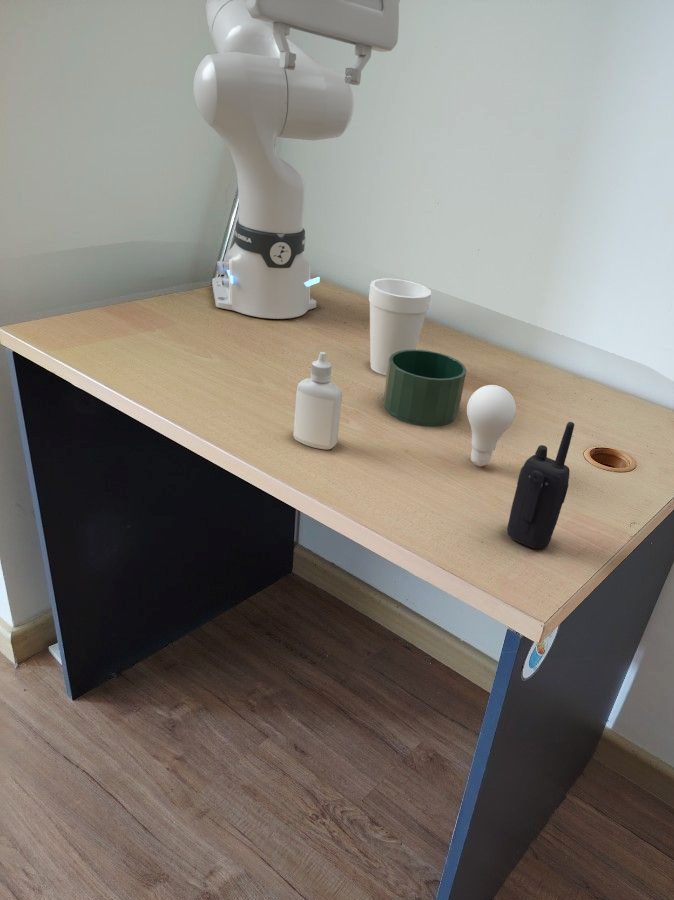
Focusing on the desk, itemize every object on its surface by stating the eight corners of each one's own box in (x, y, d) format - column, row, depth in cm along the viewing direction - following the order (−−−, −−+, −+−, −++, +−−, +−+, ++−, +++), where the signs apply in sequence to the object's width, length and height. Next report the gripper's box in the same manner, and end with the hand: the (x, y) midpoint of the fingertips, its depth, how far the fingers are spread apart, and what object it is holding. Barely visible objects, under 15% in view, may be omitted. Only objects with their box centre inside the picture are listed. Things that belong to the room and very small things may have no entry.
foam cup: (382, 383, 117) (393, 299, 110) (349, 361, 123) (358, 279, 116) (430, 376, 122) (443, 295, 115) (396, 355, 128) (408, 277, 121)
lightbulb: (463, 449, 102) (479, 372, 96) (506, 463, 101) (526, 385, 95) (449, 468, 97) (465, 388, 91) (494, 482, 96) (514, 402, 90)
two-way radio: (554, 544, 86) (591, 424, 77) (538, 560, 82) (574, 437, 74) (512, 524, 88) (543, 405, 80) (494, 539, 85) (524, 417, 76)
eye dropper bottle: (313, 454, 95) (321, 363, 88) (288, 436, 98) (294, 346, 92) (341, 448, 98) (351, 359, 91) (316, 429, 101) (324, 342, 94)
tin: (371, 395, 113) (376, 350, 109) (435, 391, 117) (443, 348, 114) (403, 429, 105) (410, 381, 101) (471, 423, 110) (480, 377, 106)
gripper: (390, -26, 101) (377, 92, 107) (244, -74, 91) (238, 60, 97) (415, -32, 97) (399, 92, 103) (264, -83, 86) (256, 58, 92)
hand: (320, 76), depth 100 cm, fingers open, 8 cm apart
